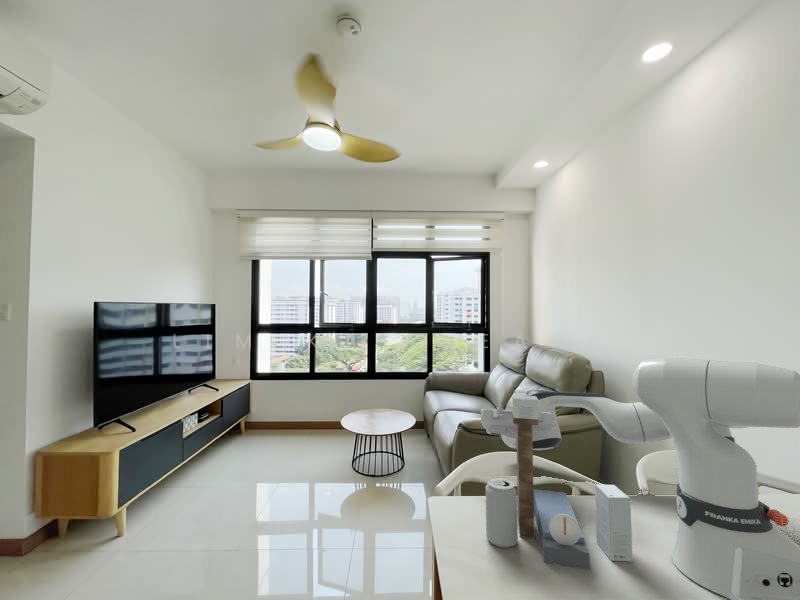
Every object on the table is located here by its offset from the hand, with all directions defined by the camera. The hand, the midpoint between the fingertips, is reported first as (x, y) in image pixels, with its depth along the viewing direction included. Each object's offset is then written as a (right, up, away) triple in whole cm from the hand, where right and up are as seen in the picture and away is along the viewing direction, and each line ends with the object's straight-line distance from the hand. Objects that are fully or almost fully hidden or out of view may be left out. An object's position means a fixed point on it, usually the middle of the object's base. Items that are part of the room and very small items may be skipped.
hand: (517, 411), depth 97 cm
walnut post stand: (-4, -21, -18) cm, 28 cm away
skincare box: (+11, -21, -25) cm, 34 cm away
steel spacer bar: (-3, +5, -13) cm, 15 cm away
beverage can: (-11, -21, -21) cm, 32 cm away
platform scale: (+2, -21, -19) cm, 28 cm away
